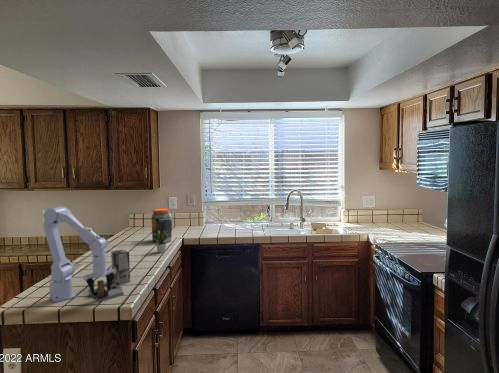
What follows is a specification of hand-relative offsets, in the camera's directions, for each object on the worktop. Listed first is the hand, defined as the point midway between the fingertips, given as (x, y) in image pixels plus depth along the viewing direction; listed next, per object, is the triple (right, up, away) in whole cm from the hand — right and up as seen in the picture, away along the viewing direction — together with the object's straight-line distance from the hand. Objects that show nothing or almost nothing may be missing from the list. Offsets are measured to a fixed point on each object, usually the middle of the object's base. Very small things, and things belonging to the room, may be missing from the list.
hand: (100, 291), depth 174 cm
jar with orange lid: (+1, +6, +120) cm, 120 cm away
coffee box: (+1, -2, +25) cm, 25 cm away
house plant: (+9, +3, +84) cm, 85 cm away
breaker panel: (+1, -3, +6) cm, 6 cm away
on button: (-4, -1, +6) cm, 7 cm away
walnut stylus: (0, -2, 0) cm, 2 cm away
